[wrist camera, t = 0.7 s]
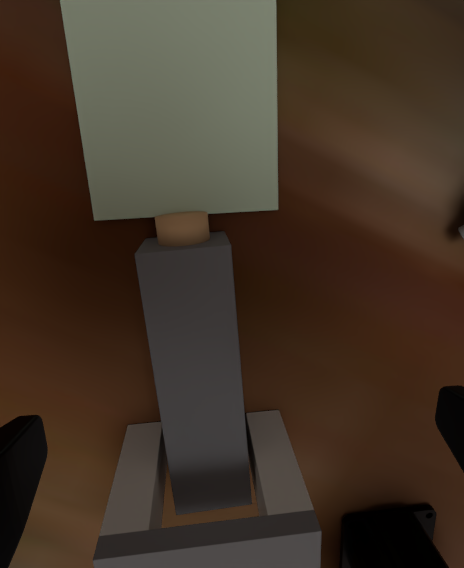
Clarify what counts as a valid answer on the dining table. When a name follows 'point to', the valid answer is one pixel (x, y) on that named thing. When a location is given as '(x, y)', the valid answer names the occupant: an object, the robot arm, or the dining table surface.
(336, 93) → the dining table surface
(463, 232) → the gun
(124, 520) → the clip
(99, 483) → the dining table surface
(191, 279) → the grey tall block
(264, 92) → the mat
